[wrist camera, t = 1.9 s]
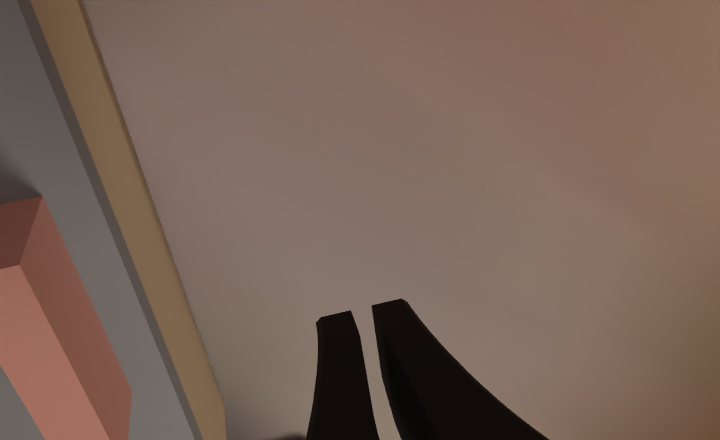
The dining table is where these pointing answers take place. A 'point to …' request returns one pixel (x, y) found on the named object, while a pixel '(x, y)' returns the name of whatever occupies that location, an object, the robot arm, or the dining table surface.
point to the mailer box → (131, 201)
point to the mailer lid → (69, 274)
